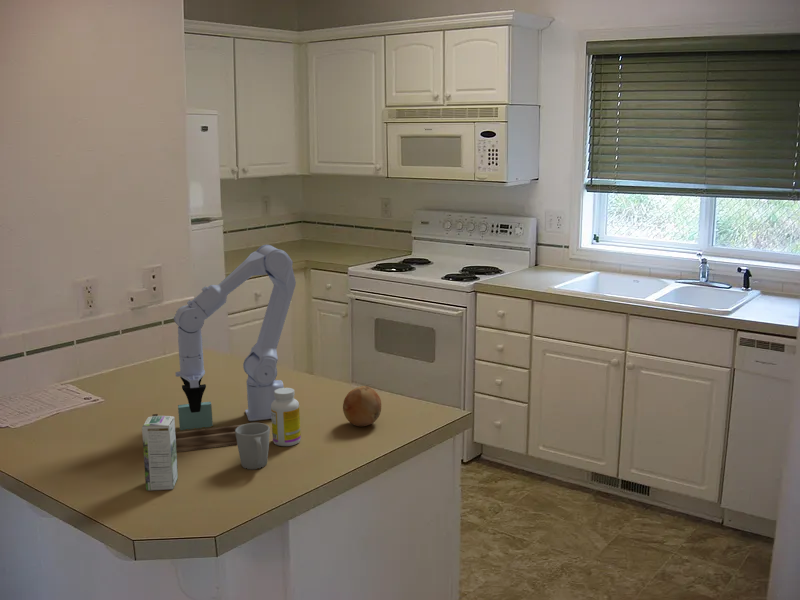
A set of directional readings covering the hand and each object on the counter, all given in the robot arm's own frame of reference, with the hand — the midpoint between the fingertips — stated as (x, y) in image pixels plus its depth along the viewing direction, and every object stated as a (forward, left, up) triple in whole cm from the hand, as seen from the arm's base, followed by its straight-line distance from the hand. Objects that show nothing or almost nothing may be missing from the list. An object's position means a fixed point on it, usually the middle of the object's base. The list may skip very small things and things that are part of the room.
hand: (194, 406), depth 210 cm
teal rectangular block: (0, 0, -5) cm, 5 cm away
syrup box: (+9, +32, -6) cm, 34 cm away
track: (-1, +11, -5) cm, 12 cm away
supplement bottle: (-20, +17, -6) cm, 27 cm away
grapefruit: (-40, +12, -6) cm, 42 cm away
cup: (-11, +29, -6) cm, 32 cm away
